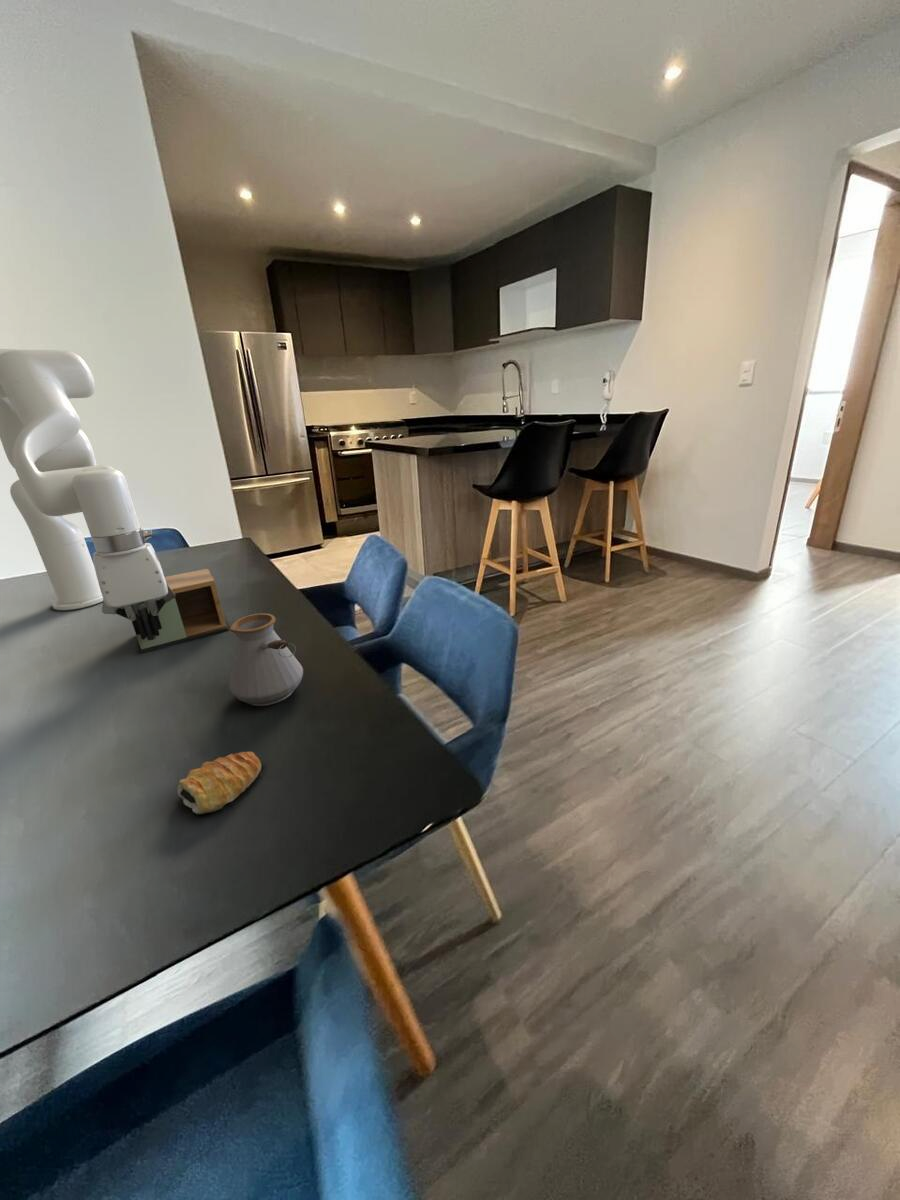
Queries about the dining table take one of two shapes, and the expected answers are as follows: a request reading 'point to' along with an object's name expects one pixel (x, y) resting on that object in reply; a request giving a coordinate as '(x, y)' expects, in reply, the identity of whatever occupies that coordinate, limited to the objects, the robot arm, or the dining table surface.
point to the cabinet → (196, 605)
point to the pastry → (218, 781)
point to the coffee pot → (262, 663)
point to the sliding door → (168, 620)
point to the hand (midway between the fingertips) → (150, 634)
